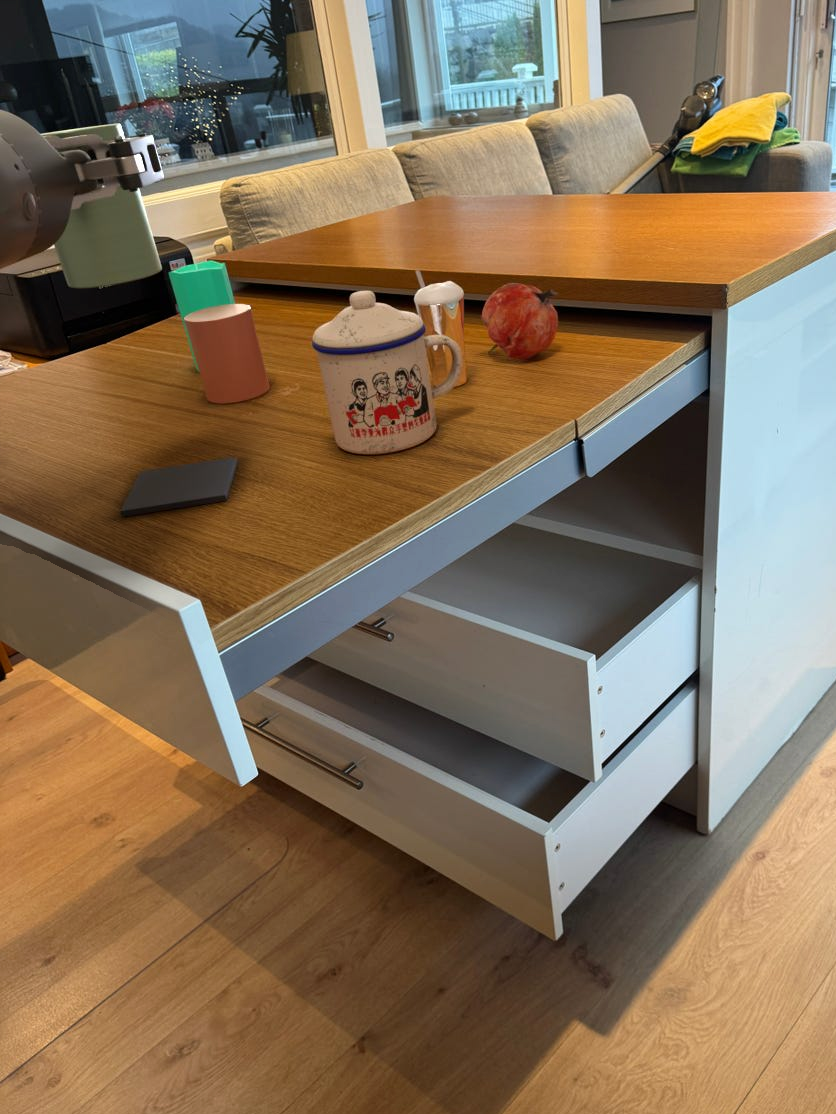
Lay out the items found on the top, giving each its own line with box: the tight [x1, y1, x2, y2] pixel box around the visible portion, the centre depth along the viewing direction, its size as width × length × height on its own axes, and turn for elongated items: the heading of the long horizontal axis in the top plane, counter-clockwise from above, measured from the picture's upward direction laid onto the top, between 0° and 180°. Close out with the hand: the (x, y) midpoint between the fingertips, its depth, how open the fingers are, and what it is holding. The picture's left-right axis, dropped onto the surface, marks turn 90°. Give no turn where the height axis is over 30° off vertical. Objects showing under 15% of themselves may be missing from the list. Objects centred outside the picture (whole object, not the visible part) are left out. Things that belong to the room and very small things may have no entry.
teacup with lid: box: [311, 290, 462, 455], centre depth 73 cm, size 12×9×12 cm
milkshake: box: [413, 269, 467, 388], centre depth 84 cm, size 4×5×10 cm
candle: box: [168, 251, 236, 373], centre depth 98 cm, size 6×6×12 cm
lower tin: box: [184, 303, 271, 405], centre depth 89 cm, size 6×6×8 cm
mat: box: [119, 456, 239, 518], centre depth 71 cm, size 8×8×1 cm
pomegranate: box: [481, 282, 559, 360], centre depth 89 cm, size 7×7×10 cm
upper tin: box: [40, 123, 163, 289], centre depth 60 cm, size 6×6×9 cm
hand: (94, 161), depth 61 cm, fingers closed on upper tin, 6 cm apart
